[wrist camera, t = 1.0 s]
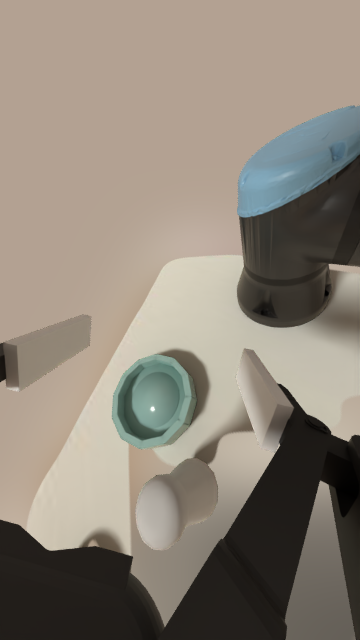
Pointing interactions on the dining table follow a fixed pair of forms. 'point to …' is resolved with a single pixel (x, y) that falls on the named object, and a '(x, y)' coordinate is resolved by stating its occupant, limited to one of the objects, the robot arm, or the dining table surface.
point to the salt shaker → (175, 503)
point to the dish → (153, 402)
